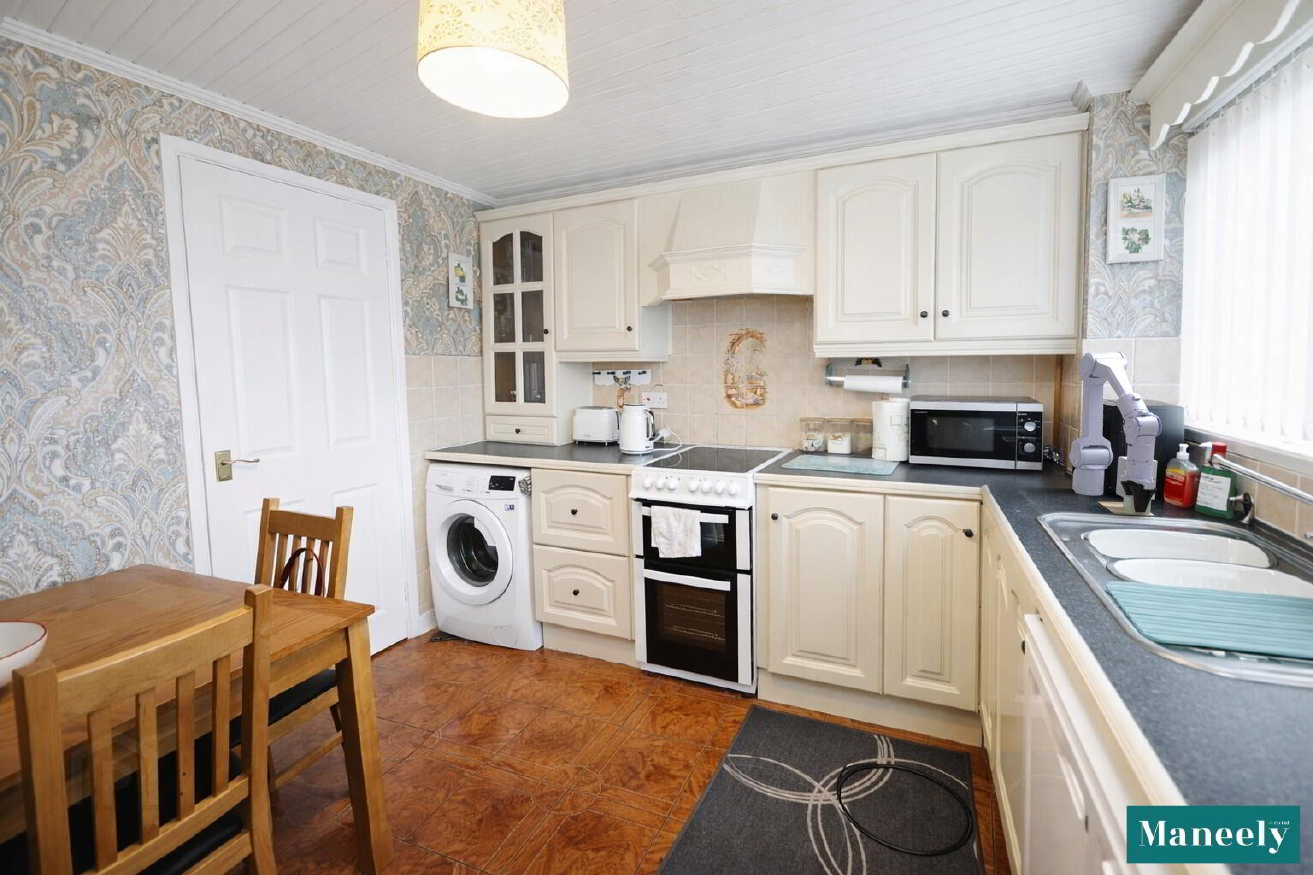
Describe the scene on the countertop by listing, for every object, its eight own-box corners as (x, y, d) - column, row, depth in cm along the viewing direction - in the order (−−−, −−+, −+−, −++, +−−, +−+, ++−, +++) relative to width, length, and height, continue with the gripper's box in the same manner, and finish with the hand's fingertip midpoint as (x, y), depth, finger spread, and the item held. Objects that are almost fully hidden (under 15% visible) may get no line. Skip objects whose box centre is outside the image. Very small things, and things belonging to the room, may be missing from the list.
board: (1097, 505, 184) (1097, 501, 184) (1133, 506, 182) (1134, 502, 181) (1114, 518, 171) (1115, 513, 171) (1154, 519, 168) (1155, 515, 168)
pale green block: (1123, 509, 175) (1124, 494, 175) (1143, 509, 174) (1144, 495, 173) (1129, 513, 171) (1130, 498, 171) (1150, 514, 170) (1151, 499, 169)
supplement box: (1125, 502, 186) (1128, 460, 184) (1115, 496, 193) (1117, 456, 191) (1155, 503, 184) (1158, 460, 182) (1143, 497, 191) (1146, 456, 189)
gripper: (1112, 455, 179) (1109, 502, 181) (1132, 465, 165) (1129, 515, 167) (1142, 455, 176) (1139, 503, 178) (1165, 465, 163) (1161, 517, 165)
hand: (1136, 509), depth 172 cm, fingers closed on pale green block, 4 cm apart
